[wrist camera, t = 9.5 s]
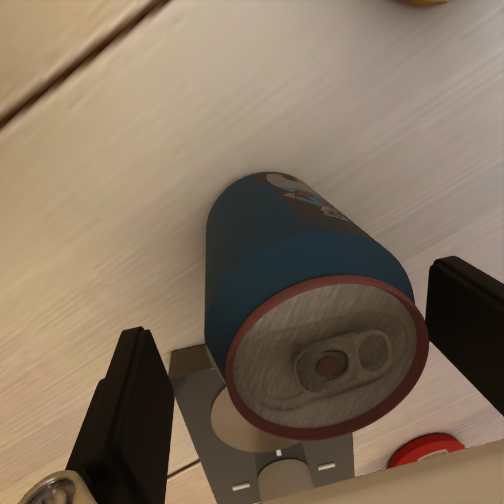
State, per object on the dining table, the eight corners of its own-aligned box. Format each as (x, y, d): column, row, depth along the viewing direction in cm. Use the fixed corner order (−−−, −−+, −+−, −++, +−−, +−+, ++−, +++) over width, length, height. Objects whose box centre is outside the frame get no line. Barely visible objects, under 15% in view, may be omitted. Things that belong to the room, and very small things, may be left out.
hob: (171, 351, 23) (166, 380, 20) (334, 315, 23) (348, 339, 21) (222, 489, 30) (223, 522, 28) (344, 460, 31) (356, 490, 28)
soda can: (225, 286, 21) (242, 478, 10) (190, 186, 18) (162, 306, 7) (326, 258, 21) (449, 418, 10) (307, 152, 18) (455, 222, 7)
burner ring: (322, 353, 21) (323, 356, 21) (330, 434, 25) (331, 438, 24) (197, 380, 21) (197, 384, 21) (224, 459, 24) (224, 462, 24)
